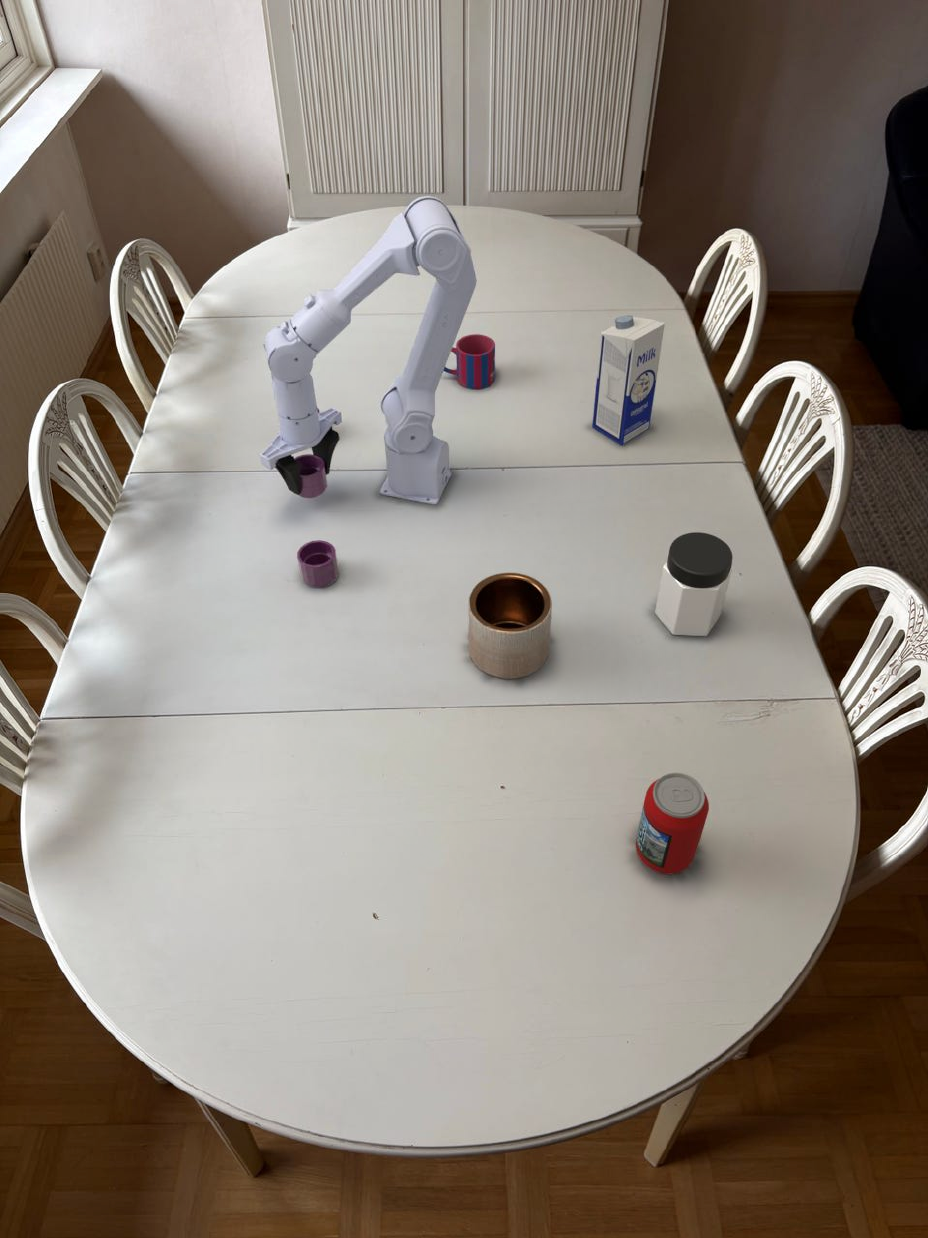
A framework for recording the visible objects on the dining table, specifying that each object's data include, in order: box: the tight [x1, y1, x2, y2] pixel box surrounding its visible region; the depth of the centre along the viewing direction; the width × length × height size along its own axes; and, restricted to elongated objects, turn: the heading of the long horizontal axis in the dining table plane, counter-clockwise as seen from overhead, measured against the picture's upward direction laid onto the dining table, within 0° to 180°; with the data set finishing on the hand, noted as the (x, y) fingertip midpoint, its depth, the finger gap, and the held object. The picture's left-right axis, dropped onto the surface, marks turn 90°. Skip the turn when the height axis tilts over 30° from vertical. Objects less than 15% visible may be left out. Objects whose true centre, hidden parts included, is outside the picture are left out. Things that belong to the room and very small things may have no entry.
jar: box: [654, 531, 733, 637], centre depth 134 cm, size 9×8×12 cm
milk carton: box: [591, 315, 666, 447], centre depth 159 cm, size 7×7×20 cm
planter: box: [467, 572, 553, 680], centre depth 131 cm, size 11×11×10 cm
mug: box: [443, 333, 496, 390], centre depth 174 cm, size 7×10×7 cm
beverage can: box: [635, 772, 710, 875], centre depth 109 cm, size 7×7×12 cm
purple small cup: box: [296, 539, 340, 588], centre depth 143 cm, size 5×5×4 cm
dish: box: [294, 453, 328, 499], centre depth 152 cm, size 5×5×4 cm
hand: (309, 481), depth 153 cm, fingers closed on dish, 5 cm apart
